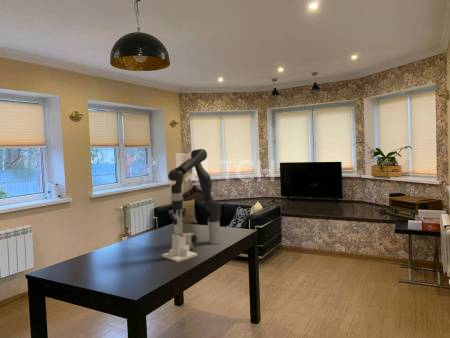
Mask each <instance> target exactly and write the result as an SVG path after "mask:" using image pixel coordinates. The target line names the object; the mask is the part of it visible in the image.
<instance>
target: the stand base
mask: <svg viewBox="0 0 450 338" xmlns="http://www.w3.org/2000/svg"><path fill="white" fill-rule="evenodd" d="M186 244H187V243H186V238H185V233H183V234H180V235H175V234H174V233H173V234H171V248H169V249H168V252H166V253H161V257H162V258H165V259H168V260H171V261H173V262H175V263H179V262H182V261H185V260H188V259H191V258H194V257H197V256H198V253H197V252H193V251H190V249H189V243H188V244H187V245H186Z"/></svg>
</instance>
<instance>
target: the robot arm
mask: <svg viewBox="0 0 450 338" xmlns="http://www.w3.org/2000/svg"><path fill="white" fill-rule="evenodd" d="M207 158H208V152H207V150H206V149H204V148H197V149H193V150H192V151H191V152H190V159H187V160H186V161H184V162H183V163H181V164H180V165H179V166H177V167H175V168H173V169H171V170H170V171H169V172H168V175H167V177H168V179H169V181H171V182H174V184H172V185H171V186H170V187H171V188H170V189H171V191H170V192H171V195H170V196H171V197H170V199H171V201H170V202H171V207H172V208H171V210H168V214H169V217H170V219H171V220H173V223H172V224H173V226H174V225H177V220H176V217H178V216H179V217H182V219H183V218H185V216H186V211H187V208H185V207H183V206H184V204H183V201H184V200H183V194H182V193H183V191H182V190H183V188H182V186H183V181H184V175H186V174H187V173H188V172H189V171H191V170H192V169H193V168H194V169H195V172H196V174H197V175H196V176H197V179H198V182H199V186H200V188H201V189H200V190H201V193H202V197H203V204H204V207H205V210H206V211H207V212H209V213H210V216H208V217H207V234H208V236H207V237H208V244H212V245H217V244H220V243H221V242H222V230H221V228H220V227H221V226H220V224H221V222H220V218H221V203H220V202H219V201H217V200H214V199H213V198H212V197H213V196H212V190H213V189H212V187H213V182H212V179H211V176H210V174H209V172H208V171H206V169H205V168H204V167H203V165H202V163H203V162H205V160H206V159H207ZM183 222H184V220H182V223H183Z"/></svg>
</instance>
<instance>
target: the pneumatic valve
mask: <svg viewBox="0 0 450 338" xmlns="http://www.w3.org/2000/svg"><path fill="white" fill-rule="evenodd" d="M184 234H185V238H186V245H187V244H189V250H191V249H193V248H194V244H196V243H197V242H198V236H197V234H196V233H190V232H185V233H184Z"/></svg>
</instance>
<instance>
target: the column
mask: <svg viewBox="0 0 450 338" xmlns="http://www.w3.org/2000/svg"><path fill="white" fill-rule="evenodd" d="M176 220H177V225H174V224H173V227H174V228H173V232H174V233H173V234H175V235H180V234H184V231H183V222H182V221H183V218H182V217H179V215H177V217H176Z"/></svg>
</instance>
